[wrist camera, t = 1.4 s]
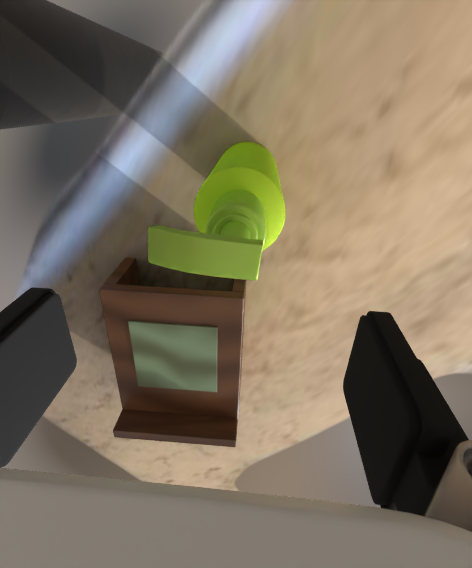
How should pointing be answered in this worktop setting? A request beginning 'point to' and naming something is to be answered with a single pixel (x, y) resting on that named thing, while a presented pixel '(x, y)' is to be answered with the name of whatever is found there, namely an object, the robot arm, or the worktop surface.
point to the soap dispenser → (227, 218)
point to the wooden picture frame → (175, 358)
